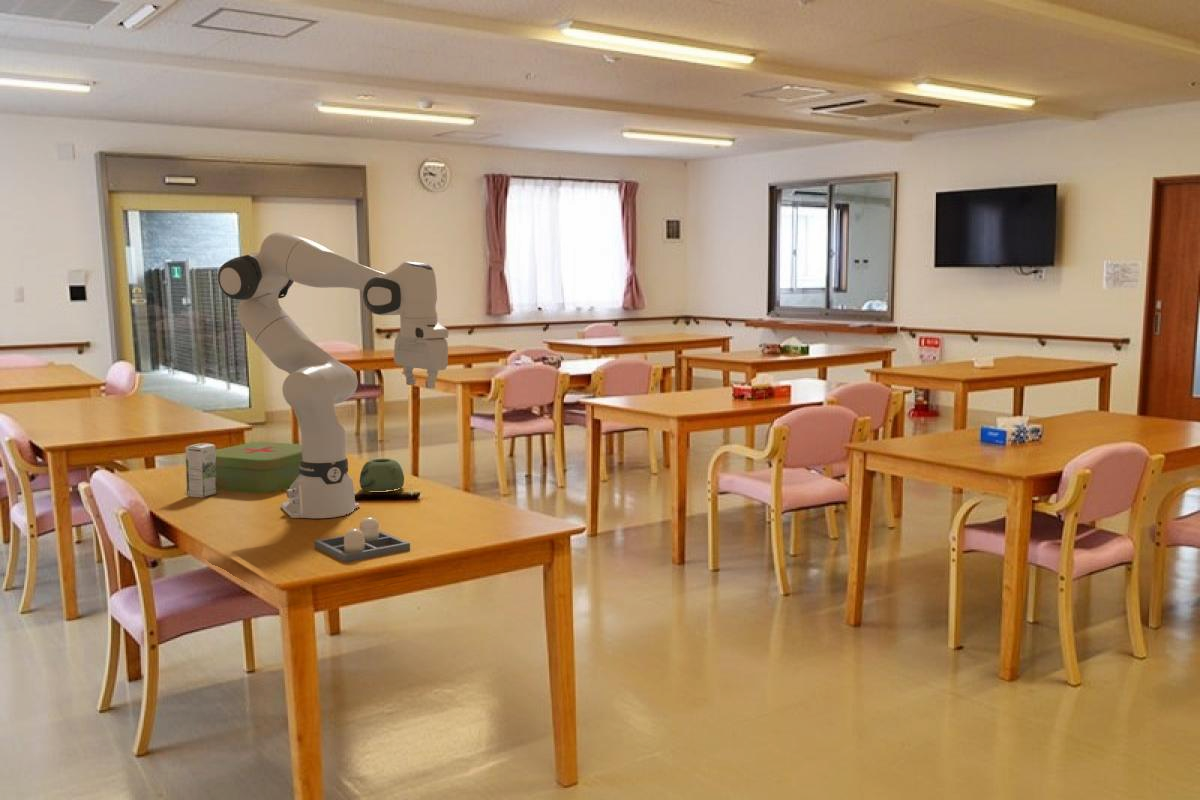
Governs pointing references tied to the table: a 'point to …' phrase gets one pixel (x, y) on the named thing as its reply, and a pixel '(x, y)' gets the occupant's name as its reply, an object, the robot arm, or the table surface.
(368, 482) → the green pot
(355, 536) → the resting egg
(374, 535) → the egg
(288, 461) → the first aid kit
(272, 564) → the table surface
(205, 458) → the syrup box
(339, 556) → the carton
